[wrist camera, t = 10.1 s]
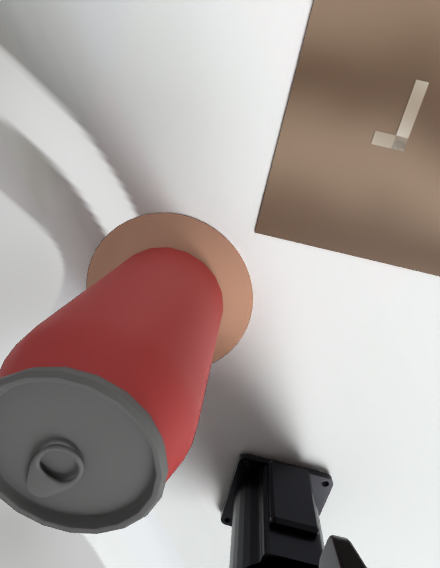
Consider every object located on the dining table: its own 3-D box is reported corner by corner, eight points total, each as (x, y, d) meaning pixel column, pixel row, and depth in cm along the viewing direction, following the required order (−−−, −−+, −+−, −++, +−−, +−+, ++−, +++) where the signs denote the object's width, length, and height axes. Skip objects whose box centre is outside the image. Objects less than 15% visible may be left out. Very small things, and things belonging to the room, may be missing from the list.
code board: (502, 289, 19) (510, 292, 18) (254, 230, 19) (254, 232, 19) (667, -19, 14) (684, -27, 14) (336, -91, 15) (340, -102, 14)
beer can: (94, 301, 21) (-92, 458, 10) (159, 220, 19) (19, 300, 8) (177, 367, 22) (96, 579, 11) (247, 296, 20) (237, 466, 9)
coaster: (231, 381, 23) (231, 387, 22) (84, 345, 23) (80, 350, 22) (272, 234, 19) (272, 236, 19) (99, 193, 20) (94, 194, 19)
